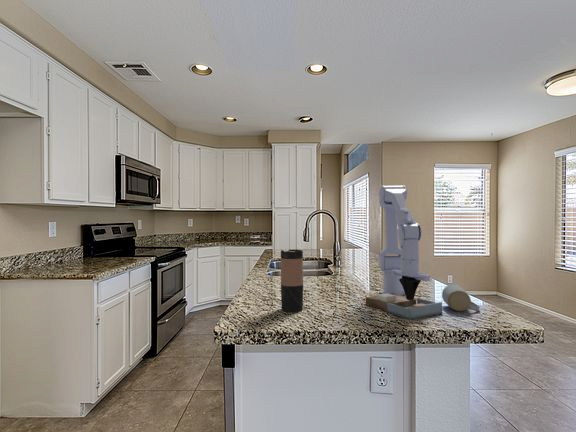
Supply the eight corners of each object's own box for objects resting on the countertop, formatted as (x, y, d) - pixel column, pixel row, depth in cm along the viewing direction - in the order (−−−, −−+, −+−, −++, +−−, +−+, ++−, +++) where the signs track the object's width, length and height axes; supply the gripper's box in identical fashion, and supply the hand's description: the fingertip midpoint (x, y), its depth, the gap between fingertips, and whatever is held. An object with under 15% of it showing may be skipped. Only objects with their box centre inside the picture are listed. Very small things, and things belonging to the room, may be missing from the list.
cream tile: (386, 297, 116) (386, 293, 116) (395, 300, 112) (395, 295, 112) (376, 299, 114) (376, 294, 114) (386, 302, 110) (386, 297, 110)
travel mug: (301, 313, 106) (301, 251, 106) (278, 312, 108) (278, 251, 108) (305, 307, 114) (304, 249, 114) (283, 306, 115) (283, 249, 115)
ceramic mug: (447, 312, 107) (448, 288, 107) (441, 305, 115) (441, 283, 115) (483, 314, 104) (483, 290, 104) (474, 307, 112) (474, 285, 112)
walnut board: (392, 299, 123) (392, 293, 123) (416, 306, 113) (416, 299, 113) (365, 304, 117) (365, 297, 117) (388, 311, 107) (388, 304, 107)
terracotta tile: (433, 306, 105) (433, 311, 105) (421, 303, 109) (421, 308, 109) (423, 308, 103) (423, 313, 103) (412, 305, 107) (412, 309, 107)
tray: (418, 306, 113) (418, 296, 113) (442, 313, 105) (441, 302, 105) (387, 312, 107) (387, 301, 107) (410, 319, 98) (410, 308, 98)
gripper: (385, 258, 115) (385, 296, 115) (418, 262, 103) (419, 305, 102) (399, 256, 119) (400, 294, 118) (434, 261, 106) (434, 303, 106)
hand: (410, 299), depth 111 cm, fingers closed
